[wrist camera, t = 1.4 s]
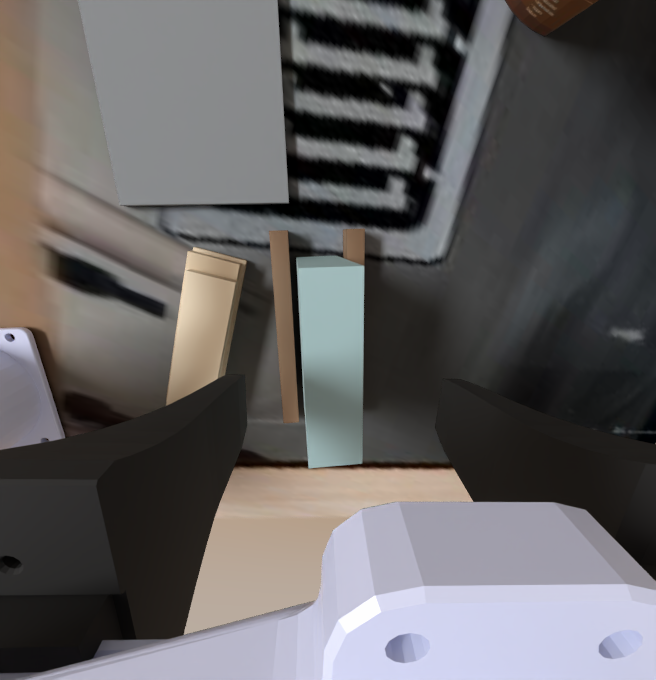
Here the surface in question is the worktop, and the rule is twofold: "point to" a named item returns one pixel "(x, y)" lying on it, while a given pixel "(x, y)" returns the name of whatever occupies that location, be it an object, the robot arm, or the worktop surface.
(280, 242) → the walnut rack
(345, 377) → the tall board
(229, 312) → the offcut planks
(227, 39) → the slate mat
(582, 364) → the worktop surface
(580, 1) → the food container
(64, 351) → the worktop surface
